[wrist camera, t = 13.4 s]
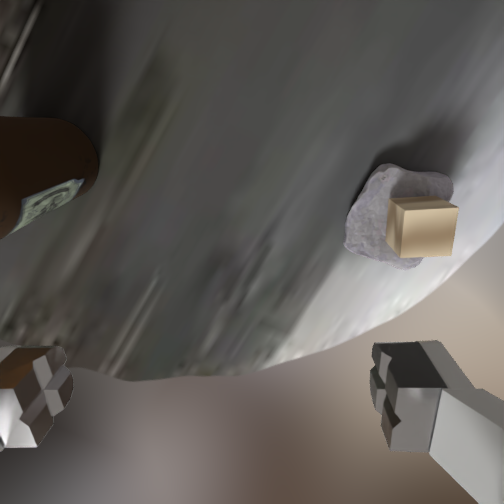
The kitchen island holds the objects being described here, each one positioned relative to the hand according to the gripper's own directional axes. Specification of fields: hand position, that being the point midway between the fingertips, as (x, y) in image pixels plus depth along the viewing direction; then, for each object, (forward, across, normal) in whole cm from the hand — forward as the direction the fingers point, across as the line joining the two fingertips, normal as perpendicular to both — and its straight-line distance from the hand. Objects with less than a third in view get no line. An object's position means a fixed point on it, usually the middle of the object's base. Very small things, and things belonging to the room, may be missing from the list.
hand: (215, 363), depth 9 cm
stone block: (+35, -15, +6) cm, 39 cm away
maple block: (+31, -17, +6) cm, 35 cm away
